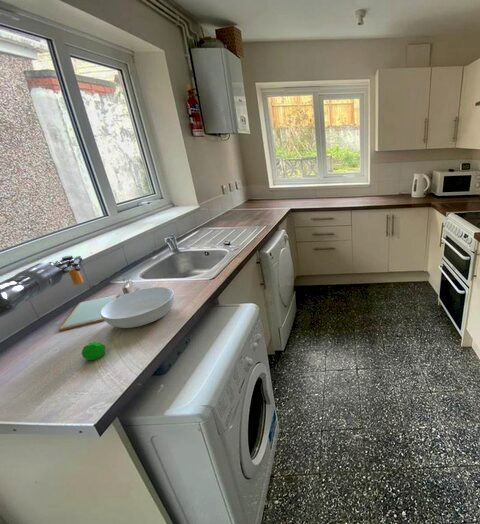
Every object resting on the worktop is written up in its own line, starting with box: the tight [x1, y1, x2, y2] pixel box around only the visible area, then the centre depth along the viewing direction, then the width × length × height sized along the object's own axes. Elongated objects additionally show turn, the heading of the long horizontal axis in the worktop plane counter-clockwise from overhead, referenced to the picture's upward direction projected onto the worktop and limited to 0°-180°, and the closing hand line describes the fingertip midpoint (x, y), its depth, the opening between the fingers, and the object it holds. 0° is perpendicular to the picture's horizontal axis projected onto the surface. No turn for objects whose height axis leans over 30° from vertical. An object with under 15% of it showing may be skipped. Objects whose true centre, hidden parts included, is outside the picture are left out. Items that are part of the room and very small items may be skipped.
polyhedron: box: [81, 341, 106, 361], centre depth 80 cm, size 5×5×5 cm
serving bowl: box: [100, 286, 175, 329], centre depth 99 cm, size 21×21×7 cm
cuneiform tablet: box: [122, 278, 137, 295], centre depth 116 cm, size 6×4×12 cm
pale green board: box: [59, 294, 119, 331], centre depth 105 cm, size 12×20×1 cm, turn 27°
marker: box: [61, 254, 84, 286], centre depth 100 cm, size 3×3×10 cm
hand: (74, 259), depth 101 cm, fingers closed on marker, 2 cm apart
